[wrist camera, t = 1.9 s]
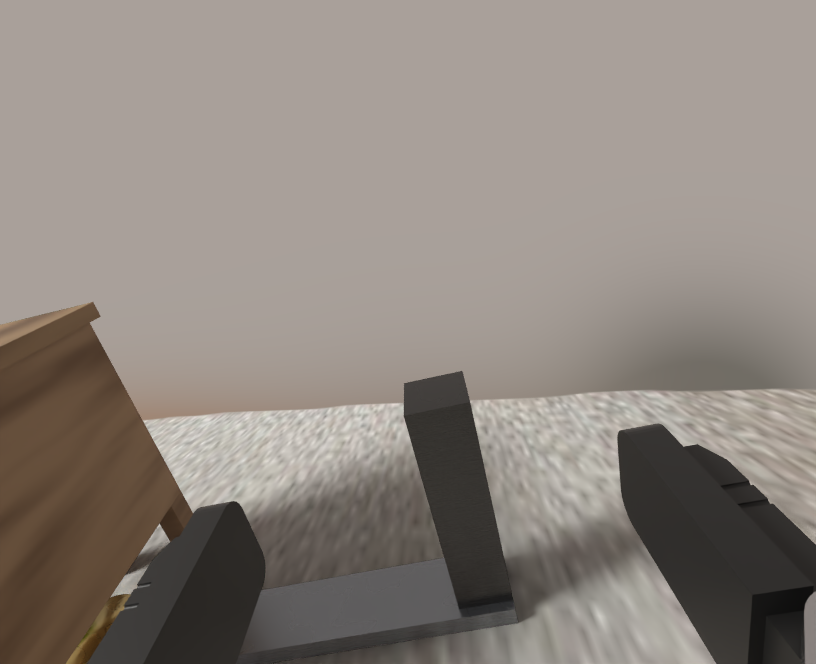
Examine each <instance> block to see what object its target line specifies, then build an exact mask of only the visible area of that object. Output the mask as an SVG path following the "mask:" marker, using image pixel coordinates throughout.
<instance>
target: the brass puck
mask: <svg viewBox="0 0 816 664" xmlns="http://www.w3.org/2000/svg"><path fill="white" fill-rule="evenodd" d="M129 597H130V594H122V595H117V596H114V597H111V598H109V600H108V601H107V603H106V604H105V606H104V607H103V609H102V610H101V612H100V613H99V615H98V616H97V618H96V619H95V621H94V622H93V624H92V625H91V627H90V628H89V630H88V631H87V633H86V634H85V635H84V637H83V638H82V640H81V641H80V643H79V644H78V646H77V647H76V649H75V650H74V652H73V653H72V655H71V656H70V658H69V659H68V661H67V662H66V664H87V663H88V661H89V659H90V658H91V656H92V655H93V653H94V652H95V650H96V648H97V647H98V645H99V644H100V642H101V641H102V639H103V637H104V636H105V634H106V633H107V631H108V630H109V628H110V626H111V625H112V623H113V622H114V620H115V619H116V617H117V615H118V614H119V612H120V611H123V610H124V604H125V603H126V601H127V600H128V598H129Z"/></svg>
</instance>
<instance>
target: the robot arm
mask: <svg viewBox="0 0 816 664" xmlns="http://www.w3.org/2000/svg"><path fill="white" fill-rule="evenodd" d="M618 454H619V468H620V482H621V493H622V498H623V502H624V506H625V509H626V511H627V514H628V516H629V519H630V521H631V523H632V525H633V526H634V528H635V530H636V531H637V533H638V535H639V536H640V538H641V540H642V541H643V543H644V545H645V546H646V548H647V549H648V551H649V553H650V554H651V556H652V558H653V559H654V561H655V563H656V564H657V566H658V568H659V569H660V571H661V573H662V574H663V576H664V578H665V579H666V581H667V583H668V584H669V586H670V588H671V589H672V591H673V593H674V594H675V596H676V598H677V599H678V601H679V603H680V604H681V606H682V607H683V609H684V611H685V612H686V614H687V616H688V617H689V619H690V621H691V622H692V624H693V626H694V627H695V629H696V631H697V632H698V634H699V636H700V637H701V639H702V641H703V642H704V644H705V646H706V647H707V649H708V651H709V652H710V654H711V656H712V657H713V659H714V660H715V662H716V664H816V545H815V544H814V543H813V542H812V541H811V540H810V539H809V538H808V537H807V536H806V535H805V534H804V533H803V532H802V531H801V530H800V529H799V528H798V527H797V526H796V525H795V524H794V523H793V522H791V521H790V520H789V519H788V518H787V517H786V516H785V515H784V514H783V513H782V512H781V511H780V510H779V509H778V508H777V507H776V506H775V505H774V504H770V503H769V501H768V499H767V498H766V497H765V496H764V495H763V494H762V493H761V492H760V491H759V490H758V489H757V488H756V487H755V486H754V485H750V483H749V480H748V479H747V478H746V477H745V476H743V475H742V474H741V473H740V472H739V471H738V470H737V469H736V468H735V467H734V466H733V465H732V464H731V463H730V462H729V461H728V460H727V459H725V458H723V457H721V456H719V455H717V454H715V453H713V452H711V451H709V450H707V449H705V448H703V447H702V446H700V445H698V444H697V445H691V446H686V447H683V446H682V445H681V444H680V443H679V442H678V440H677V439H676V438H675V437H674V436H673V435H672V434H671V433H670V432H669V431H668V430H667V429H666V428H665V427H664V426H663V425H661V424H653V425H647V426H642V427H637V428H631V429H626V430H620V431H619V433H618ZM264 578H265V560H264V556H263V552H262V550H261V548H260V546H259V544H258V541H257V539H256V537H255V535H254V533H253V531H252V528H251V526H250V524H249V522H248V520H247V518H246V515H245V513H244V511H243V509H242V507H241V506H240V504H239V503H237V502H235V501H232V502H227V503H221V504H216V505H210V506H205V507H200V508H198V509H197V510H196V511H195V512H194V513H193V515H192V517H191V518H190V520H189V522H188V523H187V525H186V526H185V528H184V530H183V531H182V533H181V535H180V536H179V537H175V538H174V539H173V540H172V541H171V542H170V543H169V544H168V545H167V546H166V547H165V548H164V549H163V550H162V551H161V552H160V553H159V554H158V555H157V556H156V557H155V558H154V559H153V560H152V562H151V564H150V565H149V567H148V568H147V570H146V571H145V573H144V575H143V576H142V578H141V579H140V581H139V582H138V584H137V585H138V587H137V589H134V590H133V592H132V593H131V595H130V597H129V598H128V600H127V601H126V603H125V604H124V610H123V611H120V612H119V614H118V615H117V617H116V619H115V620H114V622H113V623H112V625H111V626H110V628H109V630H108V631H107V633H106V634H105V636H104V637H103V639H102V641H101V642H100V644H99V645H98V647H97V648H96V650H95V652H94V653H93V655H92V656H91V658H90V659H89V661H88V663H87V664H236V663H237V660H238V657H239V654H240V651H241V648H242V645H243V642H244V639H245V636H246V633H247V630H248V628H249V625H250V622H251V619H252V616H253V613H254V610H255V607H256V604H257V601H258V598H259V595H260V593H261V590H262V587H263V583H264Z"/></svg>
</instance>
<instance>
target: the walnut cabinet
mask: <svg viewBox="0 0 816 664" xmlns="http://www.w3.org/2000/svg"><path fill="white" fill-rule="evenodd" d="M99 317H100V315H99V312H98V311H97V309H96V307H95V305H94V303H93V302H91V303H87V304H83V305H79V306H75V307H71V308H67V309H63V310H59V311H55V312H51V313H47V314H42V315H39V316H34V317H30V318H26V319H22V320H18V321H14V322H10V323H6V324H2V325H0V664H66V662H67V661H68V659H69V658H70V656H71V655H72V653H73V652H74V650H75V649H76V647H77V646H78V644H79V643H80V641H81V640H82V638H83V637H84V635H85V634H86V633H87V631H88V630H89V628H90V627H91V625H92V624H93V622H94V621H95V619H96V618H97V616H98V615H99V613H100V612H101V610H102V609H103V607H104V606H105V604H106V603H107V601H108V600H109V598H110V597H111V595H112V594H113V592H114V591H115V589H116V588H117V586H118V585H119V583H120V582H121V580H122V579H123V577H124V576H125V574H126V573H127V571H128V570H129V568H130V567H131V565H132V564H133V562H134V561H135V559H136V558H137V556H138V555H139V553H140V552H141V550H142V549H143V547H144V546H145V544H146V543H147V541H148V540H149V538H150V537H151V535H152V534H153V532H154V531H155V529H156V528H157V526H158V525H159V523H160V525H161V526H162V528H163V530H164V532H165V533H166V535H167V537H168V538H169V540H170V542H171V541H172V540H173V539H174V538H175V537H179V536H180V535H181V533H182V531H183V530H184V528H185V526H186V525H187V523H188V522H189V520H190V518H191V517H192V515H193V513H192V511H191V509H190V507H189V505H188V503H187V502H186V500H185V498H184V496H183V494H182V492H181V491H180V489H179V487H178V485H177V483H176V481H175V479H174V478H173V476H172V474H171V472H170V470H169V468H168V467H167V465H166V463H165V461H164V459H163V457H162V456H161V454H160V452H159V450H158V448H157V446H156V444H155V443H154V441H153V439H152V437H151V435H150V433H149V432H148V430H147V428H146V426H145V424H144V422H143V420H142V419H141V417H140V415H139V413H138V412H137V409H136V408H135V406H134V404H133V402H132V400H131V398H130V397H129V395H128V393H127V391H126V390H125V387H124V385H123V384H122V382H121V380H120V378H119V376H118V375H117V373H116V371H115V369H114V367H113V365H112V363H111V361H110V360H109V358H108V356H107V354H106V352H105V350H104V349H103V347H102V345H101V343H100V342H99V339H98V338H97V336H96V334H95V332H94V330H93V328H92V326H91V325H90V323H89V322H91V321H93V320H95V319H97V318H99Z"/></svg>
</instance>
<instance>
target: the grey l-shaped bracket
mask: <svg viewBox="0 0 816 664" xmlns="http://www.w3.org/2000/svg"><path fill="white" fill-rule="evenodd" d="M404 418H405V422H406V425H407V429H408V432H409V436H410V439H411V443H412V446H413V450H414V453H415V457H416V460H417V464H418V467H419V471H420V474H421V478H422V481H423V485H424V488H425V492H426V495H427V499H428V502H429V506H430V509H431V513H432V516H433V520H434V523H435V527H436V530H437V534H438V537H439V541H440V544H441V548H442V551H443V555H444V558H440V559H434V560H429V561H423V562H417V563H412V564H406V565H400V566H395V567H389V568H383V569H378V570H372V571H367V572H361V573H355V574H350V575H344V576H338V577H333V578H327V579H322V580H316V581H310V582H305V583H299V584H293V585H288V586H282V587H277V588H271V589H265V590H261V593H260V595H259V598H258V601H257V604H256V607H255V610H254V613H253V616H252V619H251V622H250V625H249V628H248V630H247V633H246V636H245V639H244V642H243V645H242V648H241V651H240V654H239V657H238V660H237V663H236V664H269V663H275V662H281V661H287V660H293V659H300V658H306V657H312V656H318V655H324V654H330V653H336V652H343V651H349V650H355V649H361V648H367V647H373V646H380V645H386V644H392V643H398V642H404V641H410V640H416V639H423V638H429V637H435V636H441V635H447V634H453V633H460V632H466V631H472V630H478V629H484V628H490V627H496V626H503V625H509V624H515V623H518V620H517V615H516V611H515V606H514V602H513V597H512V593H511V588H510V584H509V579H508V574H507V570H506V565H505V561H504V556H503V551H502V547H501V542H500V538H499V533H498V528H497V524H496V519H495V515H494V510H493V505H492V501H491V496H490V492H489V487H488V482H487V478H486V473H485V469H484V464H483V459H482V455H481V450H480V446H479V441H478V437H477V432H476V427H475V423H474V418H473V414H472V409H471V404H470V400H469V396H468V393H467V388H466V384H465V380H464V376H463V372H462V371H460V372H455V373H451V374H446V375H441V376H437V377H432V378H427V379H423V380H418V381H413V382H408V383H404Z"/></svg>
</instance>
